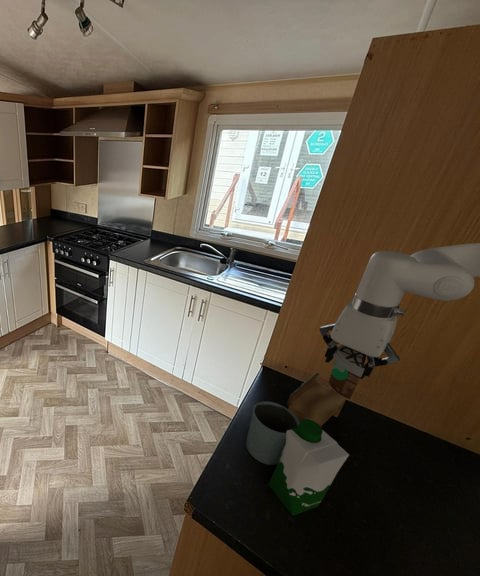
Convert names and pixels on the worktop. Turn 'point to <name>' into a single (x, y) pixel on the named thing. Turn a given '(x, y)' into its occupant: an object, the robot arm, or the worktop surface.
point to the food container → (346, 370)
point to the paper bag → (315, 402)
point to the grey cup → (269, 431)
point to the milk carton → (306, 467)
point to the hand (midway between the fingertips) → (345, 367)
